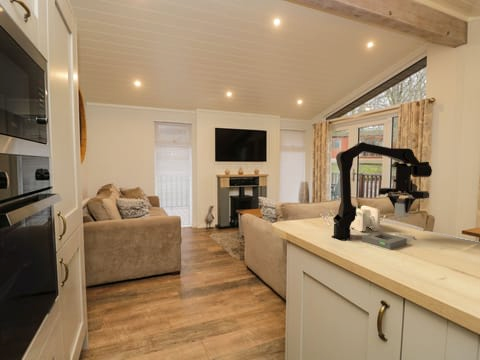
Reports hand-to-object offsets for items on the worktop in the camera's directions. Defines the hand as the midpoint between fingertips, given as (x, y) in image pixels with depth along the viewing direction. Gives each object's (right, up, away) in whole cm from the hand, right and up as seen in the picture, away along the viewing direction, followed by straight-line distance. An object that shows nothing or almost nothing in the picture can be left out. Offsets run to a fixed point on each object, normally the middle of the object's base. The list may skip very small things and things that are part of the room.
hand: (401, 212), depth 114 cm
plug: (0, -2, 0) cm, 2 cm away
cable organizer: (-9, -12, +17) cm, 23 cm away
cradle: (0, -12, +1) cm, 12 cm away
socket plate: (-11, -13, -6) cm, 18 cm away
